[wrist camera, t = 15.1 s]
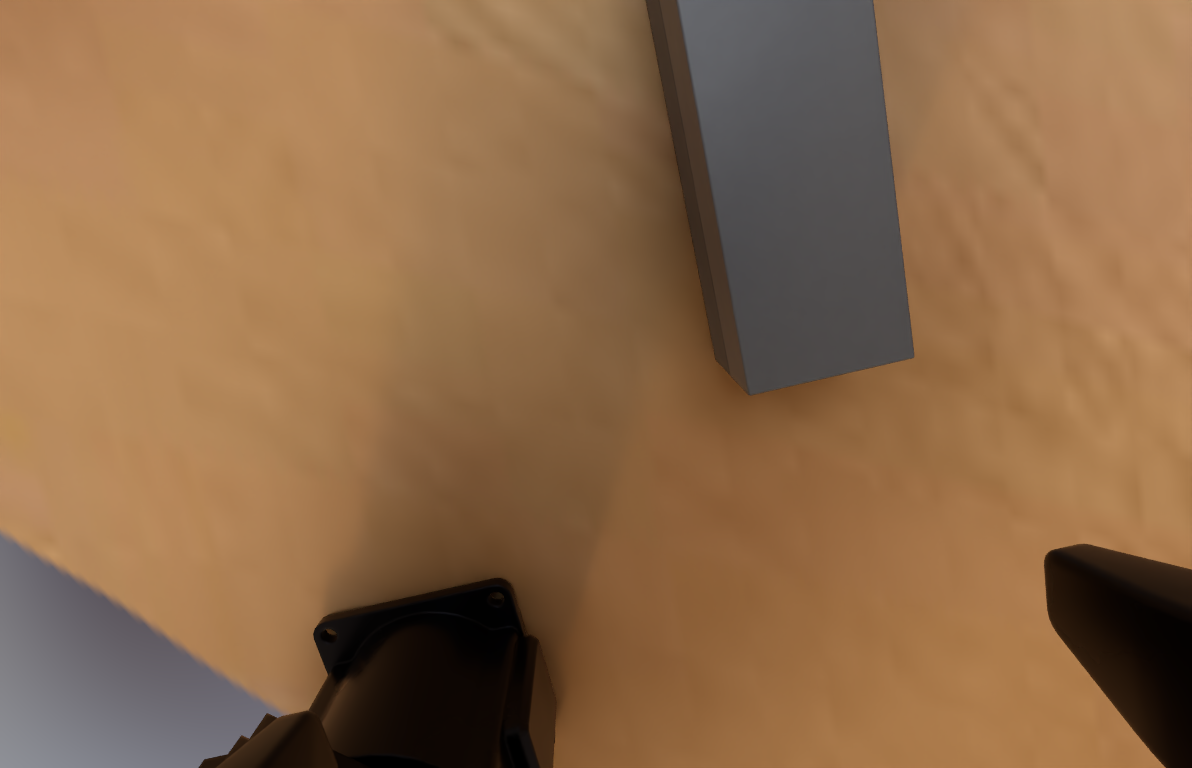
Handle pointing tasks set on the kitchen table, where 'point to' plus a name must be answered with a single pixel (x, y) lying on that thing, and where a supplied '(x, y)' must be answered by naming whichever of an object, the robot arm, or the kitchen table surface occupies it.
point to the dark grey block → (786, 184)
